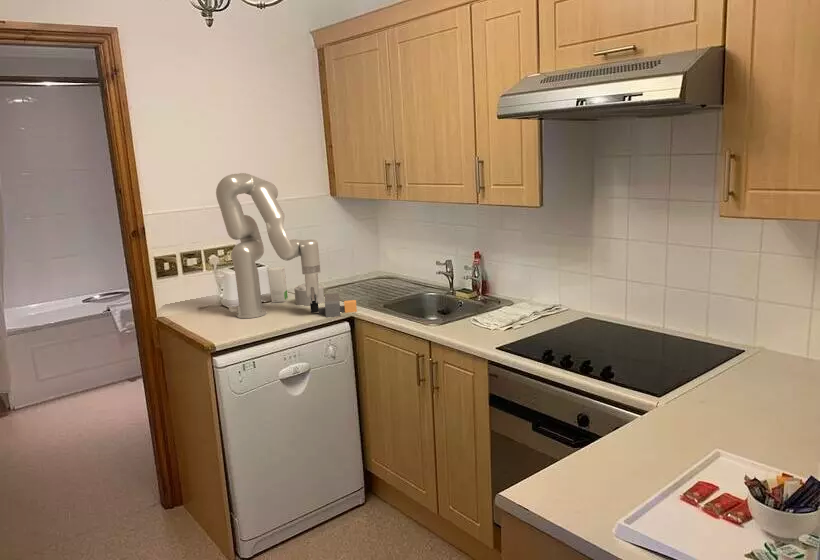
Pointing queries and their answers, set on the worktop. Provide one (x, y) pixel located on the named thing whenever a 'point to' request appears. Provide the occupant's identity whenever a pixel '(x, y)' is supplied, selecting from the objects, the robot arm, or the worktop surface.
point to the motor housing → (332, 305)
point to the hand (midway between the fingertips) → (314, 312)
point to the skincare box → (278, 284)
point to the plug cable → (343, 307)
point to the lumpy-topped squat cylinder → (301, 295)
